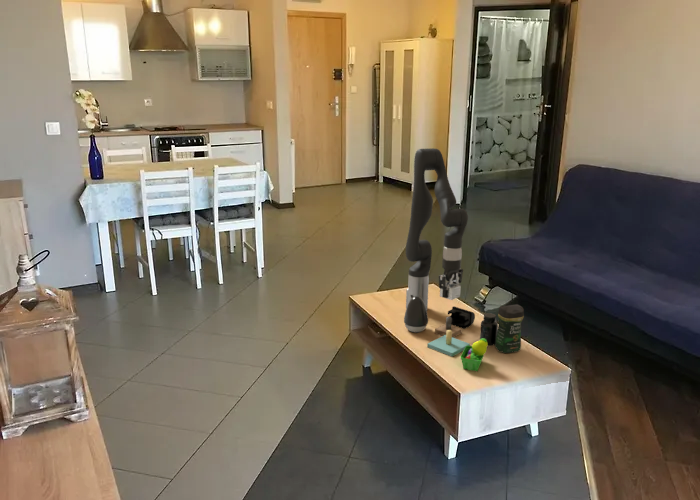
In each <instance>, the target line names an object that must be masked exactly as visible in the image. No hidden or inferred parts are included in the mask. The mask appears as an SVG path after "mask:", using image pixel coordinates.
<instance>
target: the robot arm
mask: <svg viewBox="0 0 700 500" xmlns="http://www.w3.org/2000/svg"><path fill="white" fill-rule="evenodd" d="M413 159H414V160H413V161H414V162H413V168H414V169H413V189H412V191H413V192H412V198H411V206H410V219H409V220H410V221H409V229H408V233H407V240H406V244H405V256H406V259H407V261H409V262H411V263H412V262H413V263H414V262H415V263H414V264H413V265H411V266H410V267H409V268H408V284H407V285H408V288H406V295H405V308H407V306H408V303H409V301H410V300H411V296H410V295H413V296H414V297H415V296H418V297H420V298H422V300H423V301H424V304H425V306H426V310H427V311H428V304H429V303H428V302H429V280H430V279H429V277H430V271H431V267H432V255H433V253H432V252H433V251H432V249H433V248H432V244H431V243H430V241H429V240H427V239H420V237H421V234H422V231H423V230H424V228H425V226H426V225H427V223H428V222H430V221H429V220H430V219H431V217H432V214H433V206H434V205H433V204H434V199H433V195H432V193H431V192H430V190H429V188H428V186H427V184H426V181H425V177H426V176H425V175H426V174H425V172H426V171H434V172H435V173H436V176H437V178H436V181H435V183H434V184H435V185H434V194H435V197H436V198H435V199H436V200H437V202H438V205H439V211H440V222H441V224H442V225H443V226H444V227H446V228H452V227H453V228H452V229H451V230H449V231H447V232H445V234H444V240H443V251H442V263H441V264H442V269H443V270H444V271H443V274H439V275H438V287H439V289H440V288H441V289H443V293H442V296H443V297H442V298H444V299H446V298H448V288H449V285H451V282H452V283H455V284H458V285H460V284H461V283H462V280H463V273H464V269H463V268H462V255H463V254H462V253H463V250H462V243H463V237H464V233H465V229H466V227H467V224H468V221H469V216H468V213H467V211H466V210H465V209H464V208H454V207H455V206H456V204H457V199H456V196H455V194H454V192H453V190H452V187H451V184H450V181H449V177H448V173H447V169H446V165H445V161H444V156H443V154H442V152H441V151H440V149H439V148H434V147H433V148H419V149H417V150H416V151H415V154H414V158H413ZM442 284H443V285H442ZM446 284H447V286H446Z"/></svg>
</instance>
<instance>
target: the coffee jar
mask: <svg viewBox="0 0 700 500" xmlns="http://www.w3.org/2000/svg"><path fill="white" fill-rule="evenodd" d="M524 310H525V309H524V307H523V306H521V305H520V304H518V303H516V304H510V305H503V306H501V305H500V306H499V307H498V312H497V316H498V332H497V337H496V342H495V345H494V347H495V349H496V350H497V351H498V352H501V353H502V354H503V353H504V354H509V353H517V352H520V351H521V347H522V341H521V339H522V333H521V332H522V324H523V323H522V322H523V320H524V317H525V311H524Z"/></svg>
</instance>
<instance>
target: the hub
mask: <svg viewBox="0 0 700 500" xmlns="http://www.w3.org/2000/svg"><path fill="white" fill-rule="evenodd" d="M426 346H427V348H429V349H432V350H434V351H437V352H439V353H441V354H444V355H446V356H450V357H454V356H456V355H458V354H460V353H461V352H462V353H463V351H464V349H465V347H466V346H471V343H468V342H466V341H463V340H460V339H458V338H456V337H452V331H451V330H447V331H446V335H444V336H440V337H438V338H436V339H434V340H432V341H430V342H428V343H427V345H426Z"/></svg>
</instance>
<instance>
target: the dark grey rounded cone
mask: <svg viewBox="0 0 700 500" xmlns="http://www.w3.org/2000/svg"><path fill="white" fill-rule="evenodd" d="M410 296H411V300H410V301H409V303H408V306H407V308H406V307H405V308H406V309H405V313H404V317H403V323H404V325H405V327H406V329H407V330H408V331H410V332H411V333H421V332H423V331H424V330H425V329H426V328H427V326H428V324H429V317H428V309H427V310H426V306H425V304H424V301H423V300H422V298H420V297H418V296H415V297H414V296H413V295H410Z"/></svg>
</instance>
